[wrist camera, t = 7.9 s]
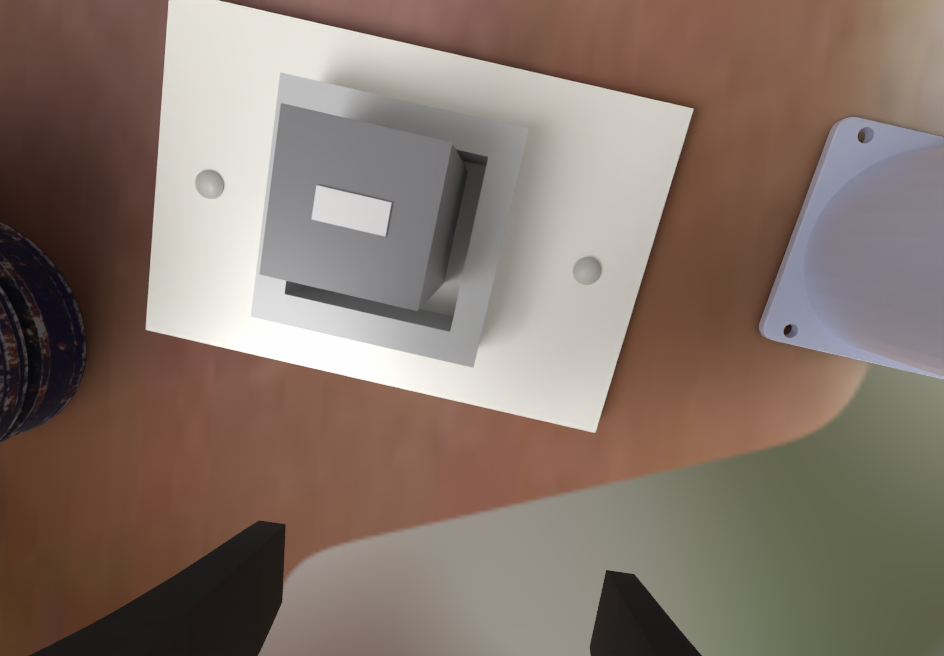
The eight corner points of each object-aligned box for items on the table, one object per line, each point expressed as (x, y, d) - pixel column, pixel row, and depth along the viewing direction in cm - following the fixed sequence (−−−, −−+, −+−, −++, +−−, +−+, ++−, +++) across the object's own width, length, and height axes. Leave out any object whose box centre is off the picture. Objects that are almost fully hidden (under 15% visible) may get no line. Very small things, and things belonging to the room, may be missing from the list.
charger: (467, 171, 17) (452, 141, 11) (444, 282, 17) (417, 312, 12) (356, 145, 17) (279, 102, 11) (338, 257, 17) (257, 274, 12)
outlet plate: (682, 115, 17) (729, 87, 13) (590, 422, 19) (610, 464, 16) (188, 2, 17) (109, -54, 13) (163, 324, 19) (92, 345, 16)
